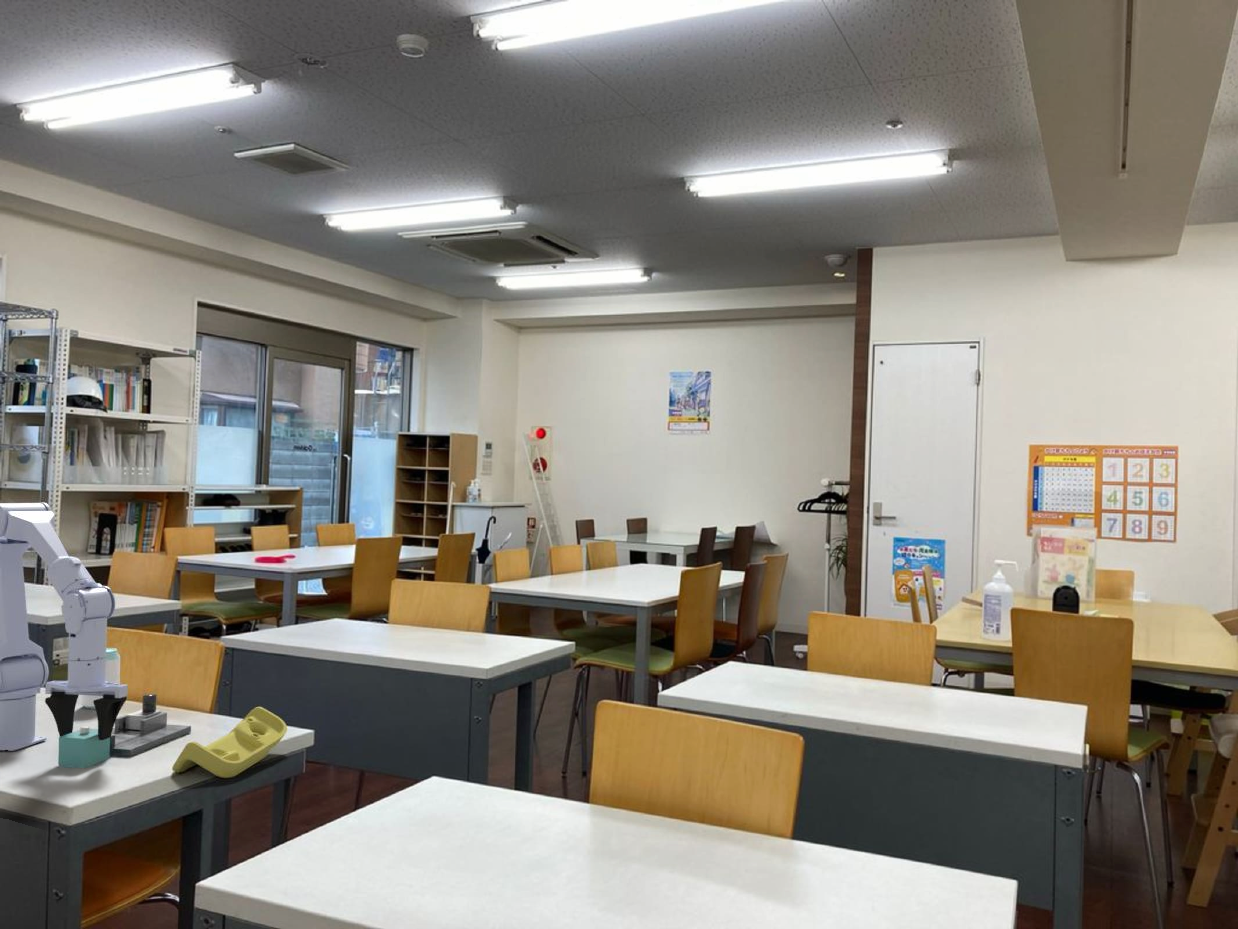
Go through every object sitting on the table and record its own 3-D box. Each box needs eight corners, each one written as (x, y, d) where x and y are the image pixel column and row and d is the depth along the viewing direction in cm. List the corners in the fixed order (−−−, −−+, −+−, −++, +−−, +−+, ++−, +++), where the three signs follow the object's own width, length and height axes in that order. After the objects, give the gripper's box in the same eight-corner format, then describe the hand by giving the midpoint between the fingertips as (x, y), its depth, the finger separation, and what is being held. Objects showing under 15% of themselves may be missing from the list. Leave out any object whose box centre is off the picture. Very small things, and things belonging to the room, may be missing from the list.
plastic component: (233, 767, 155) (183, 736, 156) (216, 805, 156) (167, 775, 157) (297, 727, 174) (252, 701, 176) (281, 762, 175) (237, 735, 176)
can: (85, 711, 199) (87, 653, 199) (78, 705, 204) (80, 649, 204) (122, 706, 203) (124, 650, 203) (114, 700, 208) (116, 646, 209)
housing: (58, 766, 161) (59, 731, 161) (84, 756, 167) (85, 722, 167) (84, 768, 160) (85, 733, 160) (109, 758, 166) (110, 724, 166)
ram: (125, 728, 180) (126, 699, 180) (143, 722, 185) (144, 693, 185) (144, 730, 179) (145, 700, 179) (162, 723, 184) (163, 694, 184)
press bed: (65, 751, 169) (66, 731, 169) (130, 728, 186) (131, 709, 186) (130, 756, 167) (131, 736, 167) (190, 732, 184) (191, 713, 184)
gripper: (32, 660, 161) (30, 740, 161) (108, 664, 159) (106, 746, 158) (63, 653, 168) (61, 730, 168) (136, 656, 165) (134, 735, 165)
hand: (85, 737), depth 163 cm, fingers open, 7 cm apart
